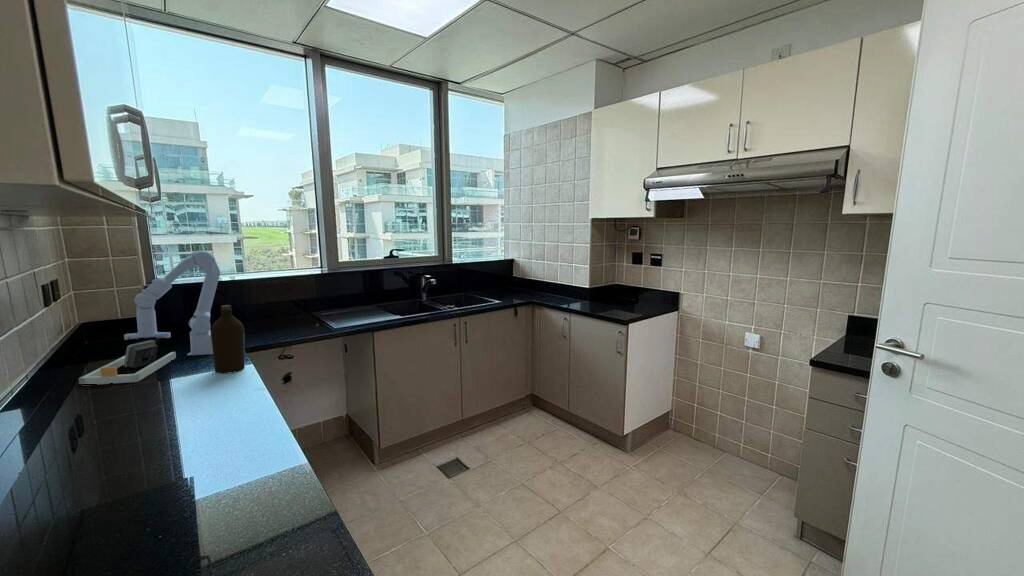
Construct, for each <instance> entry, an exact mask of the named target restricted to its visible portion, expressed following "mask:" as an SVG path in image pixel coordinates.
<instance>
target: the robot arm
mask: <svg viewBox="0 0 1024 576" xmlns="http://www.w3.org/2000/svg"><path fill="white" fill-rule="evenodd" d="M198 267H199V268H200V270H202V271H203V273H205V275H204V280H203V283H202V287H201V291H200V295H199V299H198V302H197V305H196V308H195V311H194V312H193V316H192V317H191V318H190V319H189V321H188V326H189V328H191V330H190V331H189V340H190V341H189V342H190V352H188V353H187V354H186V356H201V355H202V356H203V355H204V356H206V355H213V348H212V340H211V328H212V326H211V309H212V306H213V304H214V303H213V302H214V299H215V294H216V290H217V287H218V284H219V283H218V282H219V279H220V275H221V271H220V267H219V266H218V263H217V261H216V258H215V257H214V256H213V255H212V254H211V253H209V252H208V251H204V250H195V251H193V252H191V254H190V255H187V256H186V257H185V258H184V259H182V260H181V261H180V262H179V263H178V264H177V265H175V267H174V268H173V269H171V270H170V272H168V273H167V274H166V275H165V276H164V277H158V278H156V279H153V280H151V284H149V285H148V286H147V287H146V288H145V289H144V288H143V289H142V290H141V293H138V294H137V295H136V296H135V298H134V300H133V302H134V304H136V308H135V311H136V312H135V315H136V324H137V326H136V327H137V332H134V333H133V332H132V333H126V334H123V337H124V341H125V340H127V341H128V340H135V339H136V343H141V342H145V341H150V340H154V341H155V344H156V345H157V344H158V342H159V340H160V339H164V338H165V339H169V338H171V337H172V336H171V332H170V331H169V332H168V331H167V332H165V331H163V332H161V331H158V330H157V329H158V327H157V316H156V310H155V305H156V303H157V300H159V299H160V298H162V297H163V296H164V295H165V294H166V293H167V292H168V291H170V289H172V287H173V286H172V285H173V284H172V283H173V282H175V280H177V279H178V278H179V277H181V276H182V275H183V274H185V273H186V272H187V271H188V270H191V269H195V268H198ZM153 351H154V350H153ZM153 353H154V352H153Z"/></svg>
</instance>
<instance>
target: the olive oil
mask: <svg viewBox="0 0 1024 576" xmlns="http://www.w3.org/2000/svg"><path fill="white" fill-rule="evenodd" d="M220 308H221V309H220V313H221V315H220V317H219V318H218V319H217V320H216V321H215V322H214V323H213V324H212V326H211V327H210V330H211V340H212V348H213V354H212V356H213V364H214V365H213V366H214V371H215V373H217V374H229V373H228V372H232V373H235V372H234V371H237V372H239V371H238V370H240V371H242V370H244V369H245V327H244V325H243V323H242V321H240V320H239V319H238V318H236V317H235V316H234V315H233V309H232V305H231V304H225V305H220ZM243 368H244V369H243ZM241 369H242V370H241Z"/></svg>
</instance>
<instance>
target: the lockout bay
mask: <svg viewBox="0 0 1024 576" xmlns="http://www.w3.org/2000/svg"><path fill="white" fill-rule="evenodd" d="M176 358H177V353H176V351H171V352H169V353H168V354H166V355H164V356H162V357H160V358H158V359H157V360H155V362H153V363H151V364H147V365H146V366H145V367H144V368H142V369H140V370H138V371H137V372H135V373H127V374H118V369H119V368H120V366H121V367H123V366H124V361H125V355H123V356H121V357H119V358H118V359H116V360H114V361H111V362H109V363H107V364H105V365H103V366H101V367H99V368H97V369H95V370H92V371H91V372H88V373H87V374H85V375H83V376H81V377H79V378H78V385H79V384H97V385H109V384H110V383H113V384H123V383H124V384H126V383H128V384H129V383H137V382H139V381H141V380H143V379H144V378H146V377H148V376H149V375H151V374H152V373H154V372H155V371H158V370H159V369H161V368H163V367H164V366H165V365H166V364H168V363H170V362H171V360H172V361H173V360H175V359H176ZM122 365H123V366H122Z"/></svg>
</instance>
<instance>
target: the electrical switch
mask: <svg viewBox="0 0 1024 576" xmlns="http://www.w3.org/2000/svg"><path fill="white" fill-rule="evenodd" d="M158 346H159V345H157V344H155V341H154V340H150V341H145V342H141V343H137V342H136V343H132V344H129V345H127V346H126V350H125V355H124V356H125V361H124V365H123V366H124V367H125V368H128V367H130V368H132V369H136V368H139V367H142V366H143V367H144V366H148V365H150V364H152V363H153V362H155V361H156V357H157V353H158V348H159V347H158ZM153 350H154V351H153ZM153 352H154V353H153Z"/></svg>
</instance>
